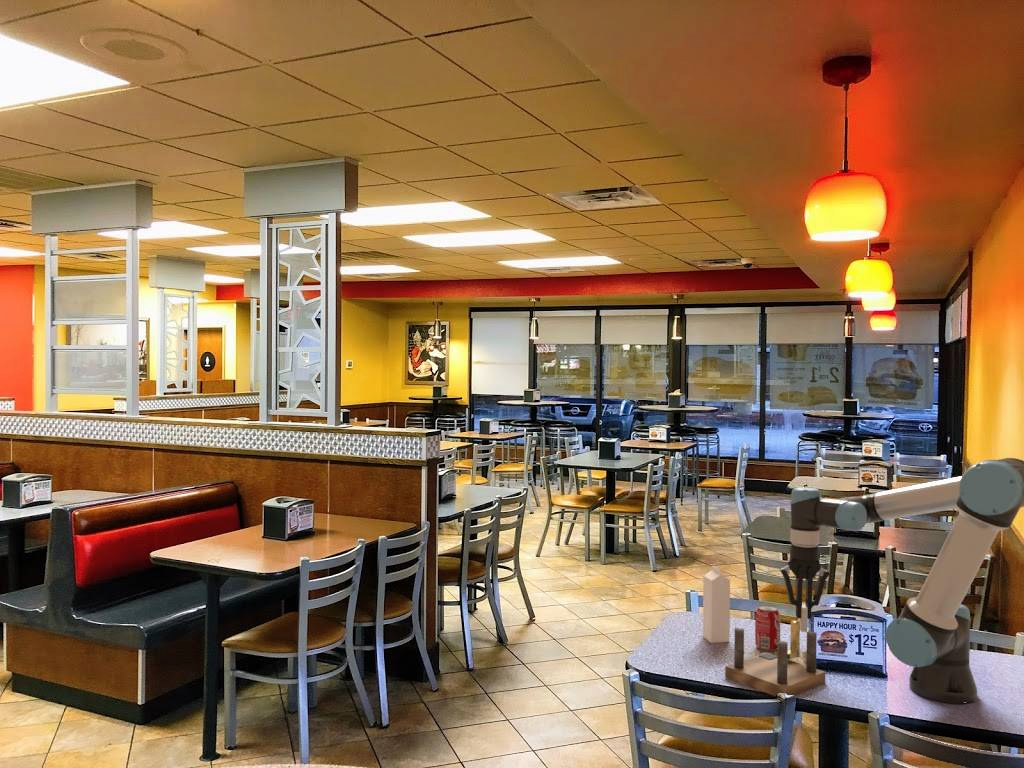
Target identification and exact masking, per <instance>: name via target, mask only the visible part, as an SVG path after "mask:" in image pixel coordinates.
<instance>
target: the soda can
mask: <svg viewBox="0 0 1024 768" xmlns="http://www.w3.org/2000/svg"><path fill="white" fill-rule="evenodd" d="M754 620H755V621H754V622H755V623H754V636H755V637H754V640H755V641H754V642H755V646H756V647H757V648H759V649H760V650H761V649H762V651H765V650H767V651H766V652H774V651H773V650H775V651H776V650H777V649H778V641H781V614H780V612H779V608H778V607H777V606H775V605H771V604H760V605H758V606H757V610H756V611H755V618H754Z"/></svg>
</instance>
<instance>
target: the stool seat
mask: <svg viewBox="0 0 1024 768" xmlns="http://www.w3.org/2000/svg"><path fill="white" fill-rule="evenodd" d="M817 634H818V633H817V632H815V631H808V630H807V632H806V656H805V657H806V658H805V659H806V664H802V663H799V662H797V661H794V660H792V659H790V660H789V659H787V657H788V651H789V650H788V646H789V644H788V643H789V642H787V641H784V640H780V641H778V649H776V650H777V651H776V652H777V655H775V654H772V653H769V652H767V651H766V652H763V653H760V654H757V655H754V656H751V657H748V658H745V629H744V628H742V627H735V628H734V644H733V645H734V648H733V649H734V652H733V653H734V654H733V655H734V662H733V663H731V664H727V665H725V666H724V667H725V668H724V670H725V671H724V674H725V675H724V676H725V677H727V678H726V679H728V678H730V679H729V680H731V679H732V680H731V681H733V680H735V681H734V682H736V681H737V682H736V683H739V684H741V683H742V685H745V686H747V687H750V688H752V689H755V690H757V689H758V691H760V690H761V691H760V692H763V691H764V692H763V693H766V694H769V695H771V696H774V697H776V695H777V694H778V693H786V694H787V695H795V696H798V695H801V694H802V693H806V692H808V691H810V690H812V689H814V688H817V687H820V686H822V685H824V684H826V671H824V670H821V669H817ZM725 677H724V678H725ZM795 696H794V697H795Z"/></svg>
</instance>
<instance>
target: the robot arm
mask: <svg viewBox="0 0 1024 768" xmlns="http://www.w3.org/2000/svg"><path fill="white" fill-rule="evenodd" d="M789 504H790V535H789V536H790V538H789V540H790V543H791V544H790V546H789V561H788V562H787V565H785V566H784V567H780V568H779V572H781V574H782V576H783V577H782V578H783V581H784V585H785V589H786V593H787V598H788V601H789V603H790V604H791V605H794V606H795V617H796V618H797V619H799V622H800V632H803V633H804V632H805V633H807V632H808V620H811V619H812V609H813V607H815V606H817V607H818V606H819V604H820V600H821V597H822V593H823V591H824V590H823V589H824V586H825V583H826V580H827V579H828V577H829V576H830V572H829V571H828V570H827V569H824V568H823V567H822V564H821V563H820V547H819V545H820V537H821V536H820V528H821V527H826V528H827V527H829V528H834V529H839V530H843V531H847V532H849V531H851V532H852V531H853V532H859V531H861V530H863V528H864V527H865V525H866V524H873V523H878V522H883V521H887V520H888V521H889V520H894V519H895V520H896V519H901V518H907V517H912V516H919V515H925V514H926V515H927V514H931V513H938V512H943V511H950V510H955V509H956V510H957V511H958V515H957V517H956V518H955V521H954V523H953V525H952V527H951V529H950V531H949V533H948V535H947V536H946V538H945V540H944V542H943V545H942V546H941V549H940V551H939V553H938V554H937V556H936V558H935V561H934V563H933V565H932V567H931V569H930V571H928V572H929V573H928V575H927V576H926V579H925V581H923V582H924V583H923V584H922V587H921V588H920V591H919V592H918V594H917V596H915V597H910V598H909V599H907V600H906V602H905V604H904V607H903V608H902V611H901V612H900V614H899V616H898V617H897V618H894V619H893V620H892V621H891V622H890V623H889V624H888V626H887V627H886V630H885V641H886V644H887V645H888V649H889V651H890V652H891V654H892V655H893V656H894V657H895V658H896V659H897V660H898V661H899V662H901V663H902V664H904V665H906V666H909V667H913V668H912V671H911V673H910V676H909V681H908V683H909V689H910V690H911V691H912V692H913V693H915V694H917V695H919V696H921V697H924V698H926V699H929V700H932V701H938V702H941V701H942V702H941V703H947V702H948V704H957V703H964V702H971V703H973V702H972V701H974V700H976V699H977V700H978V688H977V684H976V681H975V679H974V676H973V671H972V670H971V666H970V652H971V651H970V649H971V647H970V646H971V644H970V643H971V641H970V640H971V621H972V620H971V614H970V609H969V607H968V606H966V605H964V604H962V602H963V600H964V599H965V597H966V595H967V593H968V591H969V589H970V587H971V585H972V583H973V582H974V579H975V577H976V576H977V573H978V571H979V570H980V567H981V566H982V564H983V562H984V561H985V558H986V556H987V555H988V553H989V551H990V549H991V547H992V545H993V544H994V541H995V539H996V537H997V536H998V533H999V532H1000V531H1004V530H1007V529H1010V528H1011V526H1012V524H1013V522H1014V520H1015V518H1016V517H1017V515H1018V513H1019V511H1020V509H1021V508H1023V507H1024V460H1023V459H1019V458H1013V457H1006V458H1001V459H1000V458H999V459H988V460H983V461H979V462H977V463H975V464H973V465H972V466H970V467H968V468H967V469H966V470H965V471H964V473H963V474H962V475H961V476H955V477H950V478H945V479H940V480H936V481H930V482H925V483H921V484H914V485H909V486H905V487H900V488H894V489H889V490H886V491H885V490H884V491H880V492H875V493H870V494H862V495H859V496H855V497H849V498H844V499H843V498H842V499H836V498H826V497H823V496H822V495H821V490H820V489H819V488H814V487H808V486H806V487H805V486H804V487H803V486H801V487H800V486H799V487H798V486H797V487H795V488H793V489H792V490H791V497H790V503H789ZM820 526H821V527H820ZM790 571H791V572H792V573H793V575H794V576H795V596H794V590H793V586H792V581H791V579H790V576H789V575H790V574H791V572H790ZM817 574H818V577H817V581H816V586H815V589H814V592H813V582H814V577H815V576H816V575H817ZM804 579H805V600H804V601H805V604H803V582H804ZM977 700H976V701H977ZM974 702H975V701H974ZM964 704H965V703H964Z"/></svg>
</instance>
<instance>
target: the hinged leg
mask: <svg viewBox="0 0 1024 768" xmlns="http://www.w3.org/2000/svg"><path fill="white" fill-rule="evenodd" d="M800 636H801V630H800V620H795V619H793V620H790V645H789V646H790V647H789V648H790V649H789V650H788V657H787V659H788V660H793V659H795V658H797V659H798V658H800V654H801V653H800V652H801V647H800V646H801V644H800V643H801V637H800Z"/></svg>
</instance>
